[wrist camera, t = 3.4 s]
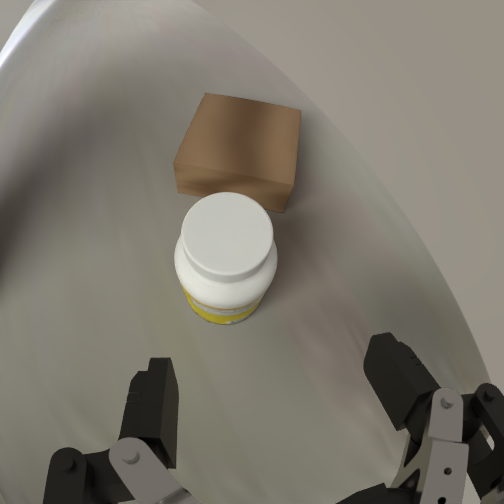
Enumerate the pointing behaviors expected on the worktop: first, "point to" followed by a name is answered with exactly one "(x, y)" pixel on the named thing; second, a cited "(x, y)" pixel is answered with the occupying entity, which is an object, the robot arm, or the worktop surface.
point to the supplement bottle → (226, 257)
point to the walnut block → (240, 150)
